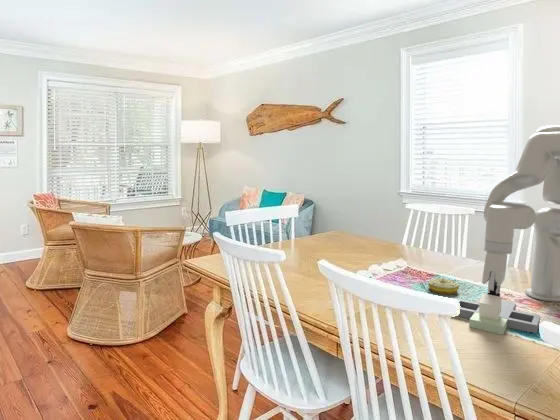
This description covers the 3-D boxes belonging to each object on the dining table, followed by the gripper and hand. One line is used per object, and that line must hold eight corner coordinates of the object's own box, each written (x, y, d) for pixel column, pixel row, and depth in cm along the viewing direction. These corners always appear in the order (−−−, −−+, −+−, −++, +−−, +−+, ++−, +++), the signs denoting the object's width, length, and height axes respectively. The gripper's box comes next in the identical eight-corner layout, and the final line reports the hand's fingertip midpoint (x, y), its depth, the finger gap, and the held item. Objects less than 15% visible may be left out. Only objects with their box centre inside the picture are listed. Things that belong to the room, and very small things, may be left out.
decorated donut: (458, 288, 163) (458, 278, 162) (458, 297, 153) (459, 287, 152) (429, 284, 166) (429, 275, 166) (427, 293, 157) (428, 283, 156)
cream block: (483, 306, 133) (483, 293, 131) (501, 310, 130) (501, 296, 128) (479, 316, 129) (479, 302, 127) (497, 320, 126) (497, 306, 124)
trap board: (462, 299, 150) (462, 292, 150) (542, 315, 136) (543, 308, 136) (443, 320, 132) (443, 312, 131) (533, 341, 118) (534, 333, 117)
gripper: (489, 241, 137) (484, 296, 140) (478, 249, 125) (473, 309, 128) (515, 244, 133) (510, 301, 135) (507, 253, 121) (501, 315, 124)
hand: (492, 305), depth 132 cm, fingers closed
